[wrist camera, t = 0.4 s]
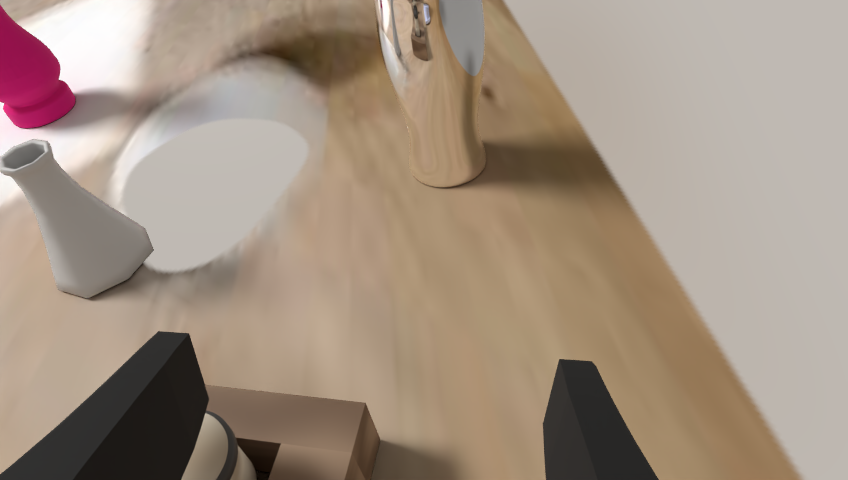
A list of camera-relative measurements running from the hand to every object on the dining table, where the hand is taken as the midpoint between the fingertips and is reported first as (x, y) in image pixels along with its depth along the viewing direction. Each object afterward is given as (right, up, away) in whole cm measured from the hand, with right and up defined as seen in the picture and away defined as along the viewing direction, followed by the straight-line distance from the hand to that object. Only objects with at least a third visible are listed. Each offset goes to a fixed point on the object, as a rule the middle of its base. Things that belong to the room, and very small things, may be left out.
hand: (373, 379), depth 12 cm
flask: (-23, +1, +33) cm, 40 cm away
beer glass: (+3, +9, +35) cm, 36 cm away
